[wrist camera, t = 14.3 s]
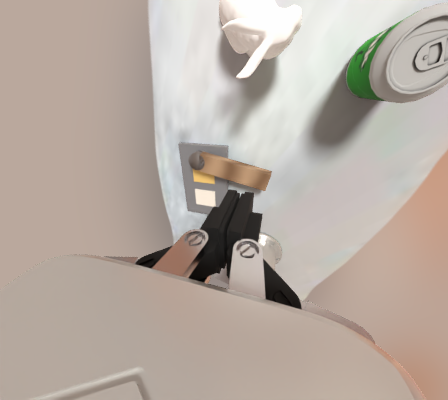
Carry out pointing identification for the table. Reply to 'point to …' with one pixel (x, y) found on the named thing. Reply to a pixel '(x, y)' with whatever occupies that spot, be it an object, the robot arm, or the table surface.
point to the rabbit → (258, 29)
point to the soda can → (403, 59)
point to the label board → (202, 179)
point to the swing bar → (230, 169)
